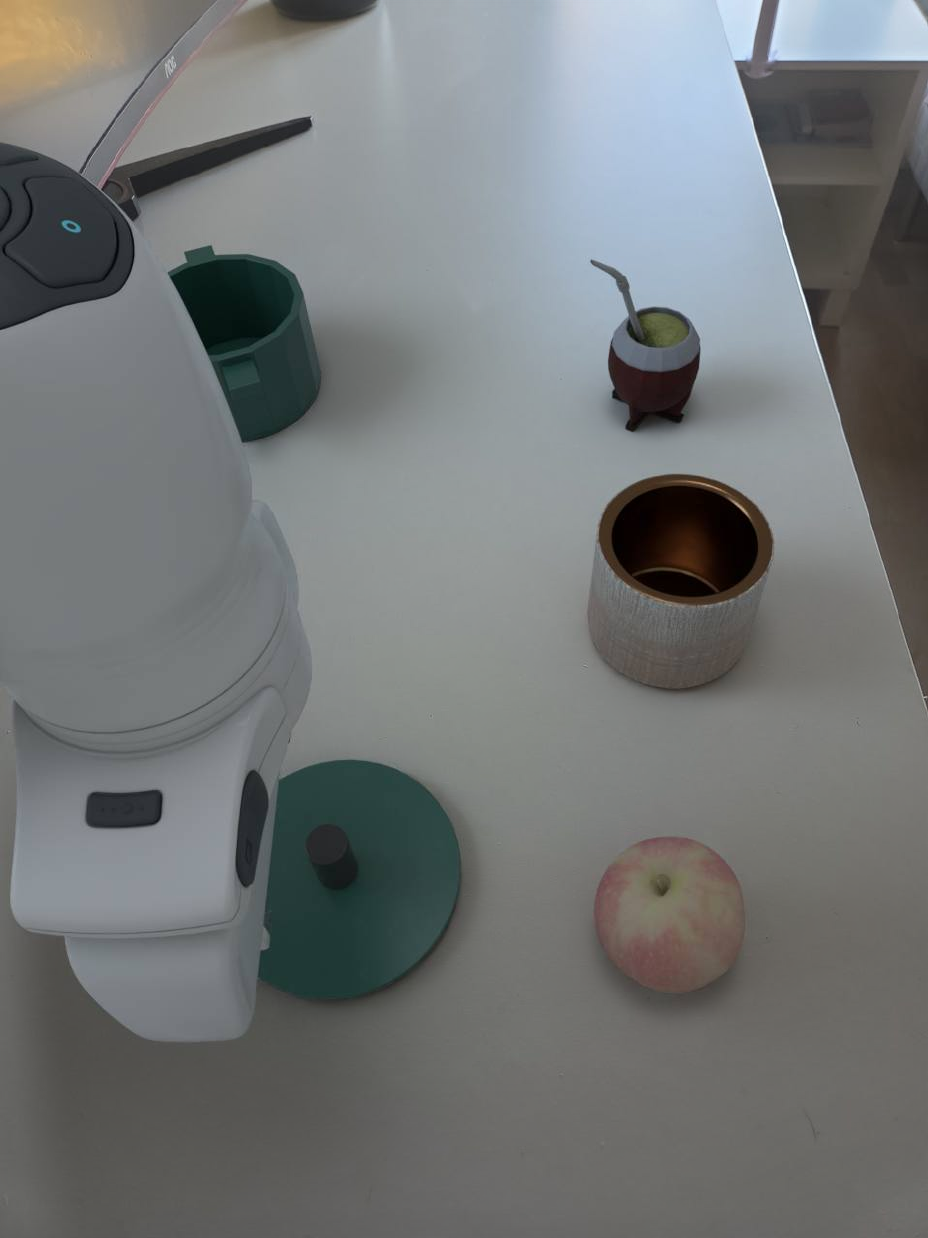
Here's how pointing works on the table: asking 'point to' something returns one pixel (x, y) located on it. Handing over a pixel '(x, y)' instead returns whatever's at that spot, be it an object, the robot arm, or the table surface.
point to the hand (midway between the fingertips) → (264, 826)
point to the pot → (252, 336)
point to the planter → (677, 579)
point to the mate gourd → (652, 358)
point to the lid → (355, 879)
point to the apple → (670, 914)
